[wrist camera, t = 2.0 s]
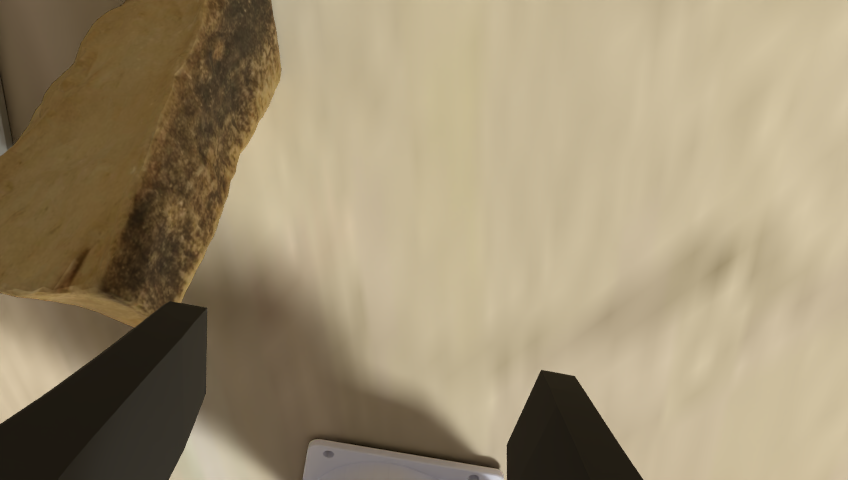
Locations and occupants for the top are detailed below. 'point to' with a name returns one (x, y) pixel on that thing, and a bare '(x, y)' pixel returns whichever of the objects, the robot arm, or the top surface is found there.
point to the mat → (4, 125)
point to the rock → (135, 155)
